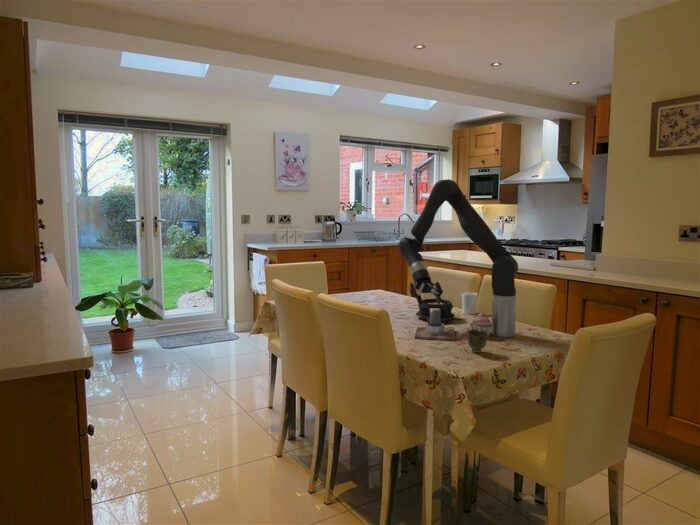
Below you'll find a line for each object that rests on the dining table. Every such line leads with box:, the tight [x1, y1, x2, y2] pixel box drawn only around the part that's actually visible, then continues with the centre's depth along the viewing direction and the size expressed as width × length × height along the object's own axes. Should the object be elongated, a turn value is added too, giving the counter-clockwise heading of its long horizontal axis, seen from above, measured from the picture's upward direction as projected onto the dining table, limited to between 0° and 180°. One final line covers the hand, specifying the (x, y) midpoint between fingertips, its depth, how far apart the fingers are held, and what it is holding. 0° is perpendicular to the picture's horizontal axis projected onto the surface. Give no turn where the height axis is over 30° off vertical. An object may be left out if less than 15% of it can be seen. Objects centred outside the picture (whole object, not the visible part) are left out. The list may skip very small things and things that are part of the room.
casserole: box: [415, 298, 456, 322], centre depth 234 cm, size 25×19×8 cm
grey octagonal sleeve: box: [425, 322, 446, 335], centre depth 204 cm, size 8×8×4 cm
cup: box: [466, 328, 488, 354], centre depth 179 cm, size 8×7×8 cm
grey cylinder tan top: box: [429, 308, 441, 326], centre depth 204 cm, size 4×4×10 cm
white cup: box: [461, 291, 479, 315], centre depth 246 cm, size 8×8×10 cm
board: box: [414, 326, 456, 342], centre depth 204 cm, size 16×16×1 cm
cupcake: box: [469, 312, 493, 338], centre depth 202 cm, size 9×9×10 cm
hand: (430, 303), depth 208 cm, fingers open, 8 cm apart
